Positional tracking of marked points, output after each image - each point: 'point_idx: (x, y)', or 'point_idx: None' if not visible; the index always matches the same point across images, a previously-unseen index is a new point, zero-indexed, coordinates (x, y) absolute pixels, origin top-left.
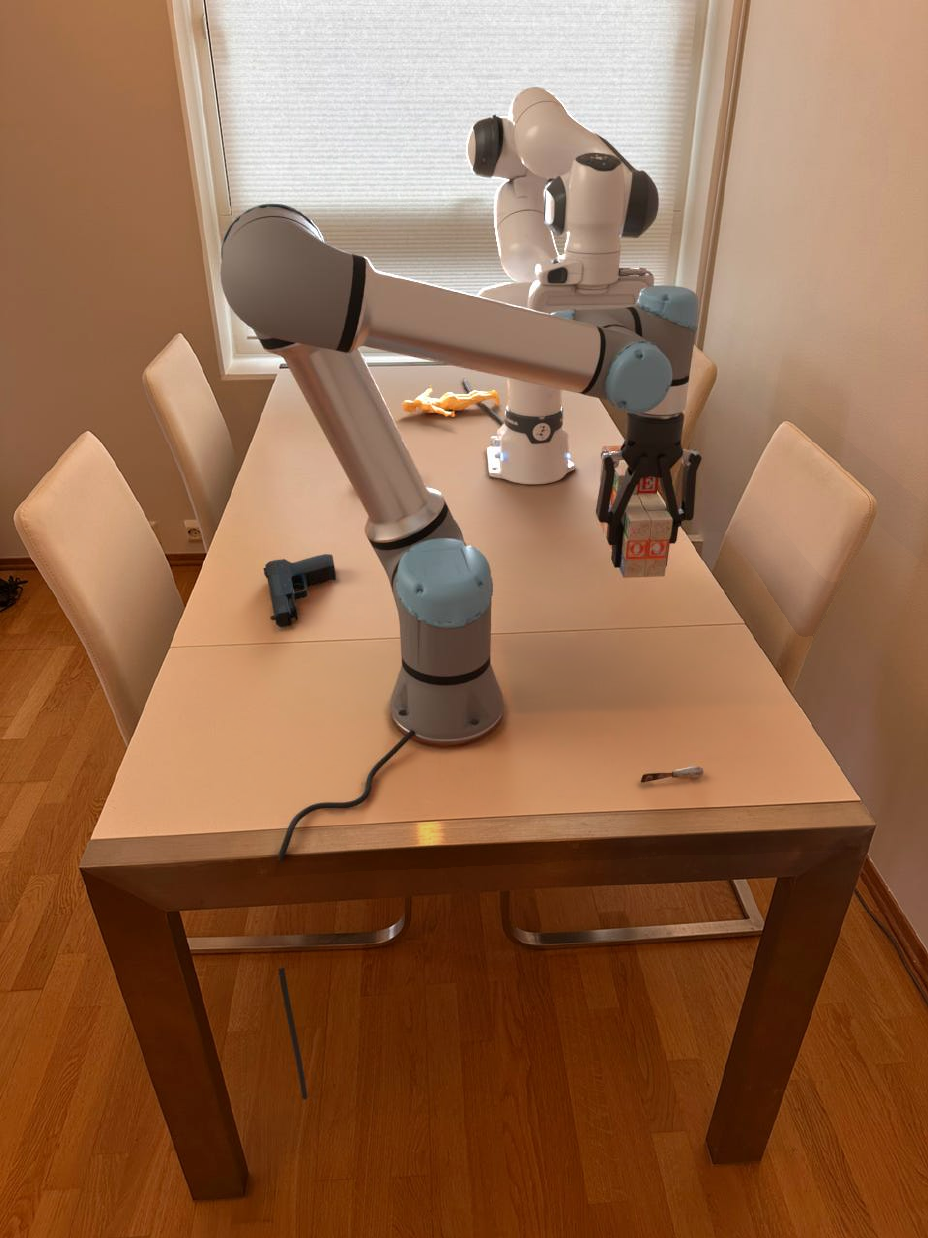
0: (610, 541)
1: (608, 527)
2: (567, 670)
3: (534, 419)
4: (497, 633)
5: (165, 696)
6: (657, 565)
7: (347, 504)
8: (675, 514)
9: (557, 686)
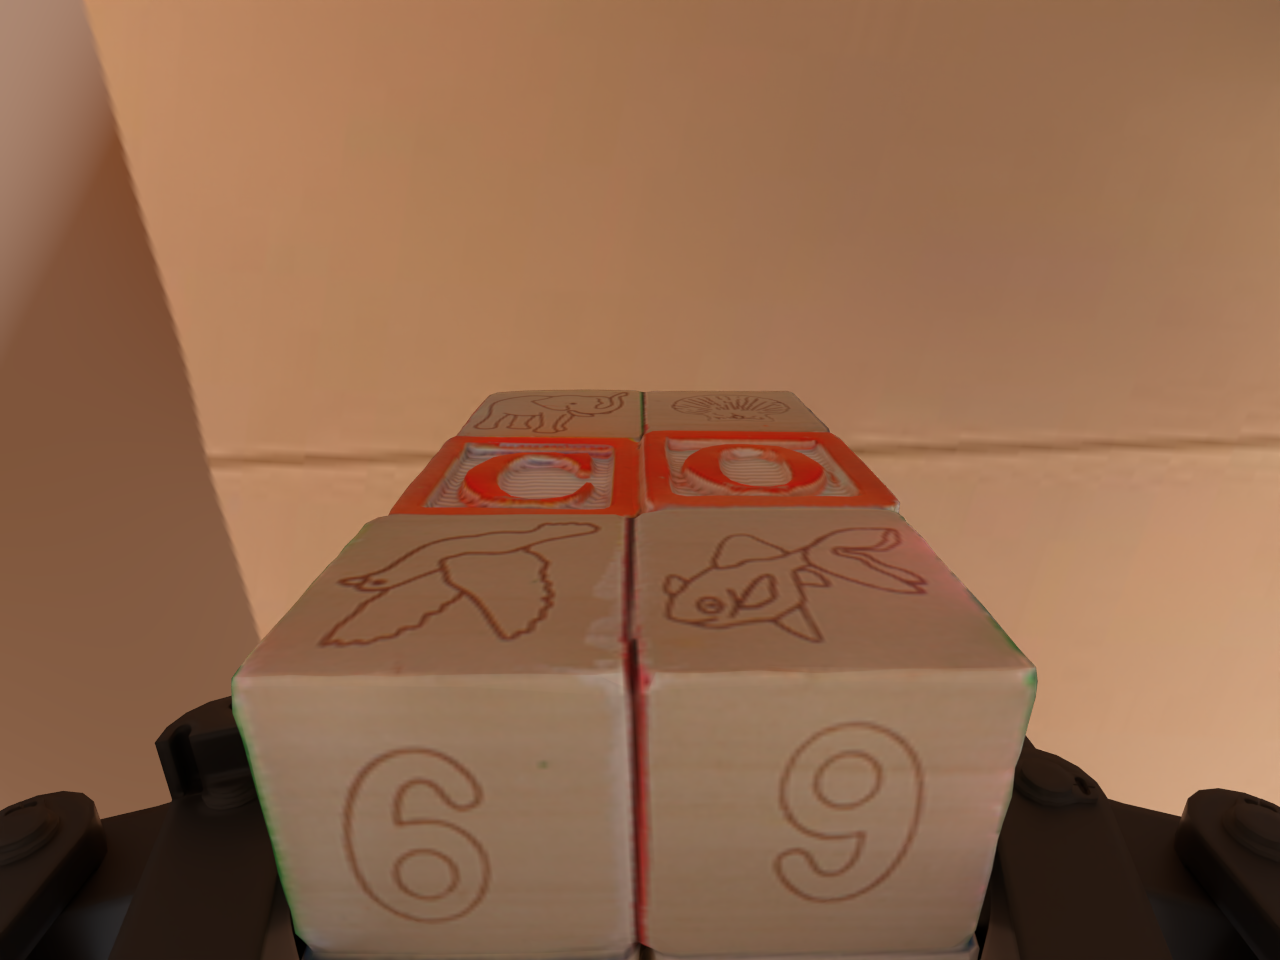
0: None
1: None
2: (971, 152)
3: None
4: (1165, 447)
5: None
6: (541, 415)
7: None
8: (198, 872)
9: (1054, 20)
